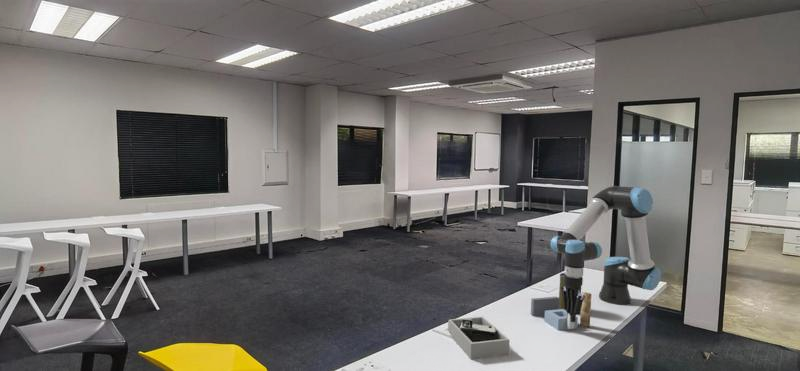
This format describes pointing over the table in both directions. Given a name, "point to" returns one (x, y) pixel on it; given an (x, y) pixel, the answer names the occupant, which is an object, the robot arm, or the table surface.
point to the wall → (543, 305)
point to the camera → (478, 331)
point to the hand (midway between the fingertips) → (570, 327)
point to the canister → (561, 291)
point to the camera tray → (478, 348)
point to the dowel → (585, 310)
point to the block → (558, 319)
